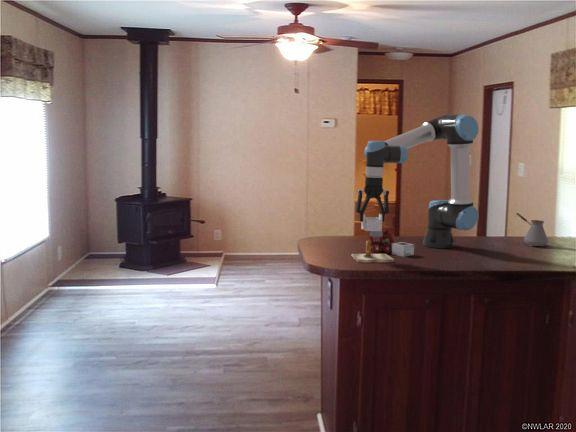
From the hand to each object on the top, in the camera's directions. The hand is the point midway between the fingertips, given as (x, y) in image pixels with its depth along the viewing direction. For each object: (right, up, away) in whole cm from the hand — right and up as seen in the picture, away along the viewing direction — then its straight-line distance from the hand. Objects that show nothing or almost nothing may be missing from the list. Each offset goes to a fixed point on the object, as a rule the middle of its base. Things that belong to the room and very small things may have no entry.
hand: (371, 229), depth 260 cm
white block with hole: (+16, -12, +14) cm, 25 cm away
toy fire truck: (+7, -11, +20) cm, 24 cm away
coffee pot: (+89, -9, +49) cm, 102 cm away
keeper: (+1, -13, +2) cm, 14 cm away
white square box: (0, 0, 0) cm, 0 cm away
